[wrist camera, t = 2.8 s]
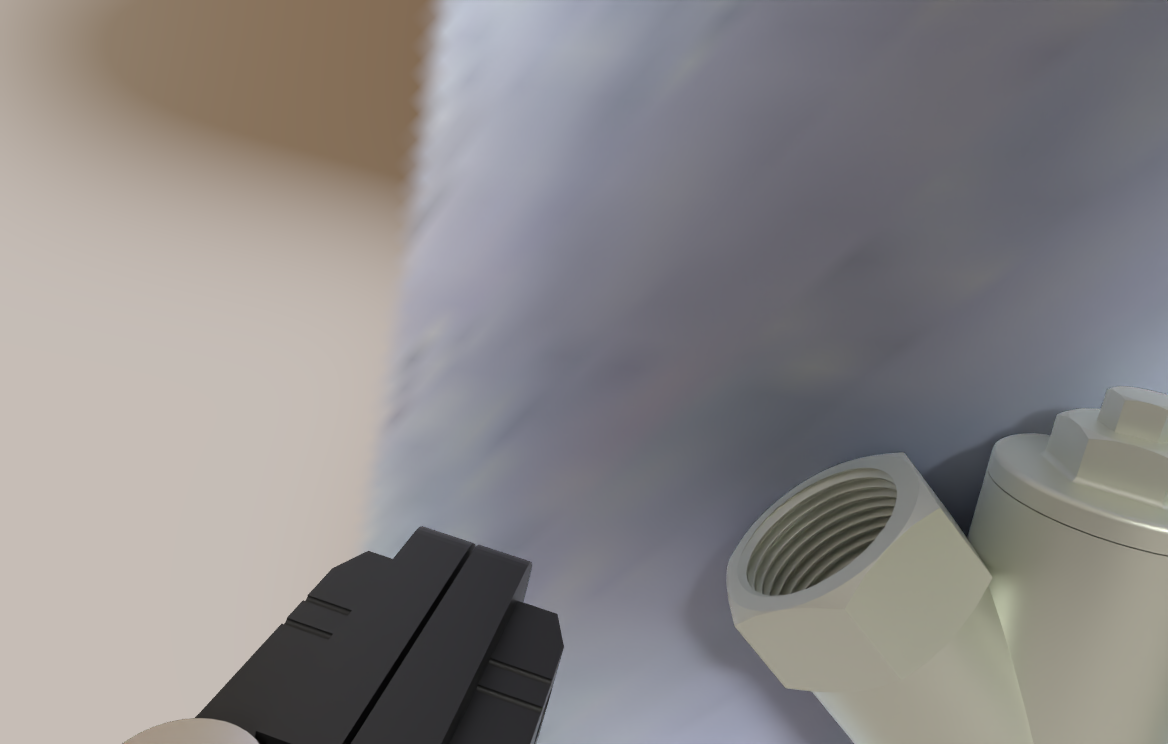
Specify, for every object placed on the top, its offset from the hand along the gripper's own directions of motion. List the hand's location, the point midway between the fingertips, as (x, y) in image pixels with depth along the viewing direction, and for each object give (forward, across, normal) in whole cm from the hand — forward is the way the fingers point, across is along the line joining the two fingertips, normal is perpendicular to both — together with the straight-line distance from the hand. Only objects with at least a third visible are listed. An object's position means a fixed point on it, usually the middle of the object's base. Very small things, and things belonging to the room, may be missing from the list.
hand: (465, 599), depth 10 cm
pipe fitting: (+5, -9, 0) cm, 10 cm away
